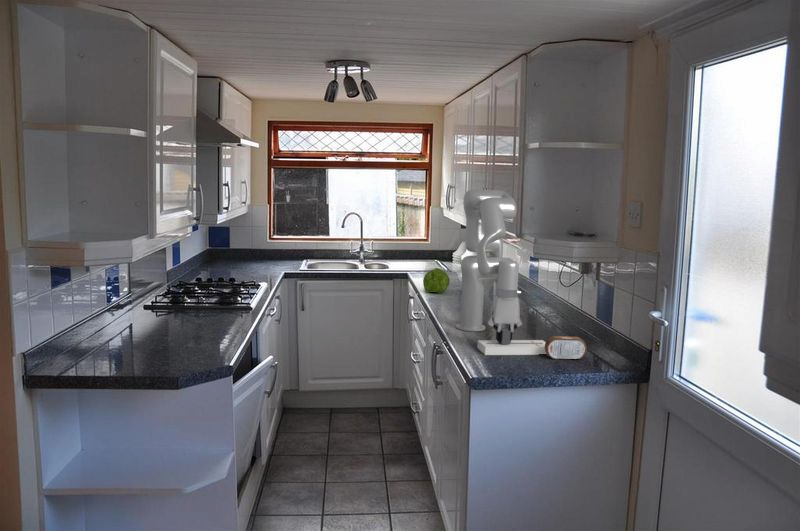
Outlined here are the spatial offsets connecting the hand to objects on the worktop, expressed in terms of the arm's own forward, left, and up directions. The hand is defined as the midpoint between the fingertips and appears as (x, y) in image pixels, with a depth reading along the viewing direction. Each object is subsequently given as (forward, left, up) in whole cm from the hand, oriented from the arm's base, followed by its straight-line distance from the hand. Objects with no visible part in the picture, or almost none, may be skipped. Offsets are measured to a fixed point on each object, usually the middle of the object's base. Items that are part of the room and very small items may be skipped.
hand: (503, 341), depth 243 cm
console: (0, +4, -4) cm, 6 cm away
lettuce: (-130, +4, -4) cm, 130 cm away
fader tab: (0, 0, 0) cm, 0 cm away
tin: (+11, +20, -4) cm, 23 cm away
